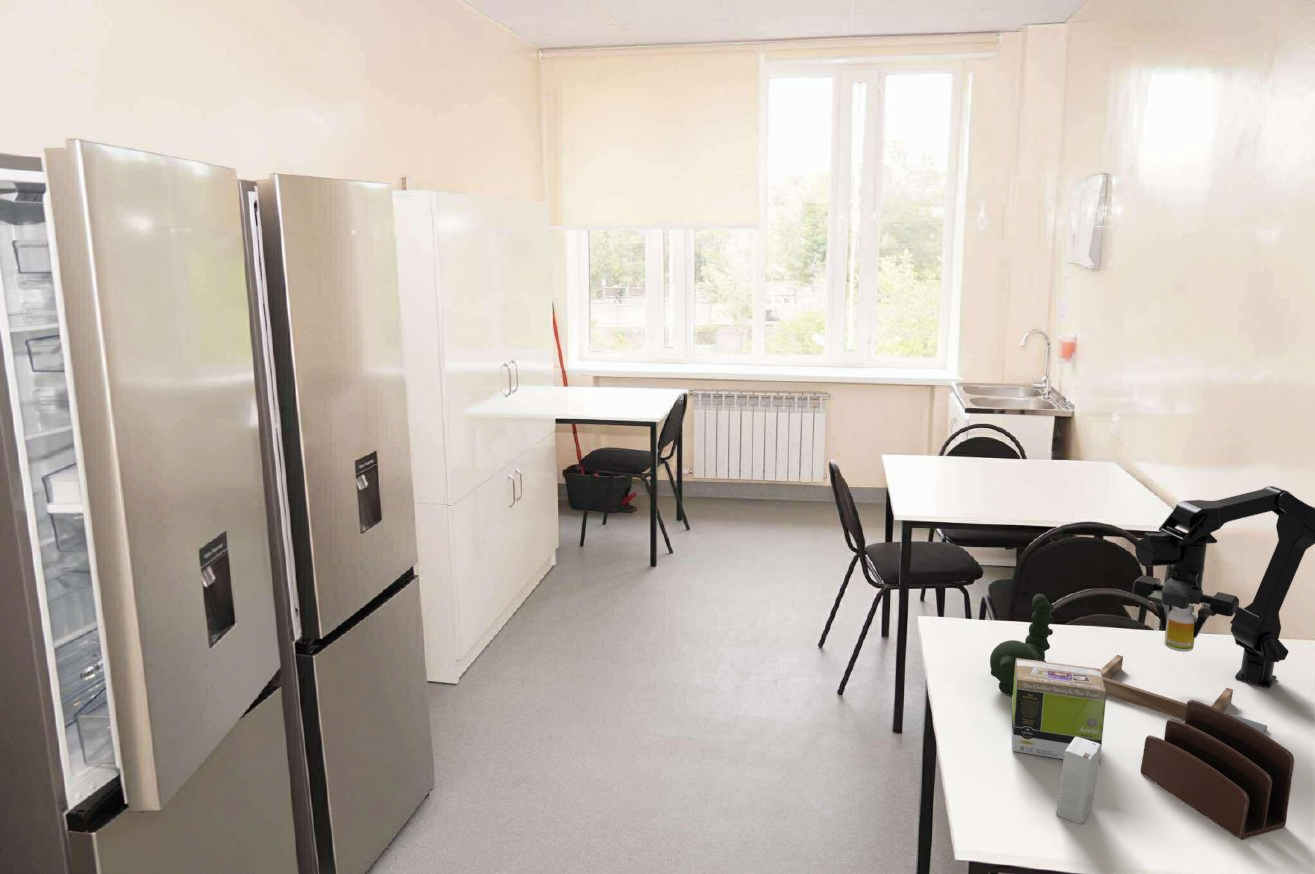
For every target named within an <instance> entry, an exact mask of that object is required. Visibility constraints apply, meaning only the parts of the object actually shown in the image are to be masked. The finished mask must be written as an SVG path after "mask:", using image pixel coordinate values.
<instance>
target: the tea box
mask: <svg viewBox="0 0 1315 874" xmlns="http://www.w3.org/2000/svg"><path fill="white" fill-rule="evenodd" d="M1100 669H1101V668H1095V667H1090V666H1089V667H1088V666H1081V665H1071V664H1065V663H1058V662H1057V663H1056V662H1050V661H1046V662H1043V661H1035V660H1026V659H1019V658H1016V661H1015V673H1014V687H1013V696H1012V697H1011V698H1012V699H1011V701H1012V702H1011V709H1010V711H1011V712H1010V713H1011V714H1010V730H1011V734H1010V735H1011V750H1012V751H1013V752H1017V753H1023V754H1029V755H1034V756H1041V757H1042V756H1043V757H1048V758H1055V759H1061V760H1064V753H1065V750H1066V749H1067V747H1068V746H1069V745H1070V743H1071V742H1072V740H1073V739H1074V738H1075V737H1080V738H1083V739H1086V740H1089V741H1093V742H1096V743H1099V744H1101V747H1102V743H1103V734H1104V733H1103V732H1104V725H1105V724H1104V723H1105V713H1106V704H1107V703H1106V701H1107V694H1106V690H1105V687H1104V683H1103V679H1102V676H1101V672H1100ZM1012 751H1011V752H1012ZM1101 753H1102V751H1101V752H1100V757H1101V756H1102V755H1101ZM1100 763H1101V758H1100V759H1099V765H1100Z"/></svg>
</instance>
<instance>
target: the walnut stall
mask: <svg viewBox="0 0 1315 874" xmlns="http://www.w3.org/2000/svg"><path fill="white" fill-rule="evenodd" d="M1123 662H1124V656H1123V655H1119V654H1116V655H1115V656H1114V657H1113V658H1112V659H1111V660H1109V661H1108V662H1107V663H1106V664H1105V665H1104V666H1103V667H1102V668H1099V669H1100V672H1101V676H1102V679H1103V683H1104V687H1105V690H1106V696H1107V695H1108V696H1110V697H1114V698H1117V699H1119V700H1122V701H1126V702H1128V703H1131V704H1134V705H1137V706H1140V707H1142V708H1147V709H1149V710H1153V711H1156V712H1159V713H1161V714H1164V715H1168V716H1171V717H1174V718H1175V719H1178V720H1182V721H1185V716H1186V707H1187V702H1186V703H1185V702H1182V701H1180V700H1176V699H1173V698H1171V697H1167V696H1164V695H1160V694H1157V693H1154V692H1151V691H1149V690H1145V689H1142V688H1138V687H1135V686H1133V685H1130V684H1126V683H1124V682H1123V683H1122V682H1121V681H1120V682H1119V681H1117V680H1114V679H1113V678H1114V677H1115V676H1116V675H1117V674H1118V673H1119V672H1120V671H1122V668H1123ZM1233 694H1234V689H1232V688H1229V687H1225V689H1224V690H1223V691H1222V693H1220V695H1219V696H1218V698H1216V700H1215V701H1214V702H1213V703H1212V704H1211V707H1213V708H1215V709H1217V710H1219V711H1222V712H1224V713H1226V712H1225V711H1226V710H1227V709H1228V708H1229V707H1228V706H1230V705H1231V704H1232V701H1233V700H1232V699H1233Z"/></svg>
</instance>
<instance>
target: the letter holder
mask: <svg viewBox="0 0 1315 874" xmlns="http://www.w3.org/2000/svg"><path fill="white" fill-rule="evenodd" d="M1186 704H1187V707H1186V716H1185V720H1184V722H1183V721H1181V720H1179V719H1177V718H1169V719H1167V720H1166V723H1165V729H1164V730H1165V731H1164V737H1163V738H1164V739H1163V738H1160V737H1157V736H1155V735H1150V734H1149V735H1147V736H1146V737H1145V739H1144V745H1143V746H1144V748H1143V753H1142V758H1141V765H1140V774H1141V775H1143V776H1144V777H1146V778H1147V779H1149V780H1150V781H1152V782H1154V783H1155V784H1156V785H1158V786H1159V787H1161V788H1162V789H1164V790H1165V791H1167V792H1169V794H1172V796H1175V797H1176V798H1178V799H1179V800H1181V802H1184V804H1187V805H1188V806H1190V807H1191V808H1193V809H1195V811H1197V812H1198V813H1200V814H1202V815H1203V816H1205V817H1206V818H1208V819H1209V820H1211V821H1212V822H1213V823H1215V824H1217V825H1218V826H1220V827H1222V828H1223V829H1225V830H1226V831H1228V832H1229V833H1230V834H1232V835H1233V836H1235V837H1236V838H1238V839H1239V840H1241V841H1242V840H1244V839H1248V838H1252V837H1256V836H1259V835H1263V834H1266V833H1271V832H1273V831H1277V830H1278V831H1279V830H1280V829H1283V828H1285V827H1286V826H1287V825H1286V824H1287V818H1288V810H1289V802H1290V796H1291V787H1292V781H1293V774H1294V767H1295V765H1294V764H1295V757H1294V755H1293V754H1292V752H1291V751H1289V750H1288V749H1287V748H1285V747H1284V746H1283V745H1281V744H1280V743H1278V742H1277V741H1275V739H1272V738H1271V737H1270V736H1268V735H1266V733H1265V734H1263V733H1261V732H1260V731H1258V730H1256V729H1255V728H1253V727H1251V726H1249V725H1248V724H1246V723H1244V722H1242V721H1240V720H1238V719H1236V718H1234V717H1232V716H1230V715H1228V714H1226V713H1227V712H1222V711H1219V710H1217V709H1215V708H1213V707H1211V706H1212V705H1211V706H1210V705H1208V704H1206V703H1204V702H1200V701H1198V700H1195V699H1189V700H1187V702H1186Z"/></svg>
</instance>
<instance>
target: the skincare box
mask: <svg viewBox="0 0 1315 874" xmlns="http://www.w3.org/2000/svg"><path fill="white" fill-rule="evenodd" d="M1100 752H1101V753H1102V746H1101V744H1099V743H1096V742H1093V741H1089V740H1086V739H1083V738H1080V737H1075V738H1074V739H1073V740H1072V742H1071V743H1070V745H1069V746H1068V747H1067V749H1066V750H1065V753H1064V759H1062V761H1063V762H1062V767H1061V774H1060V781H1059V790H1058V796H1057V802H1056V810H1055V814H1056V815H1057V816H1059V817H1060V818H1063V819H1065V820H1068V821H1070V822H1074V823H1076V824H1079V825H1083V823H1084V821H1085V819H1086V818H1087V816H1088V815H1089V813H1090V812H1091V811H1092V809H1093V806H1094V800H1095V793H1096V788H1097V787H1096V786H1097V780H1098V770H1099V766H1100V764H1099V759H1100V760H1101V756H1100Z"/></svg>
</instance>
